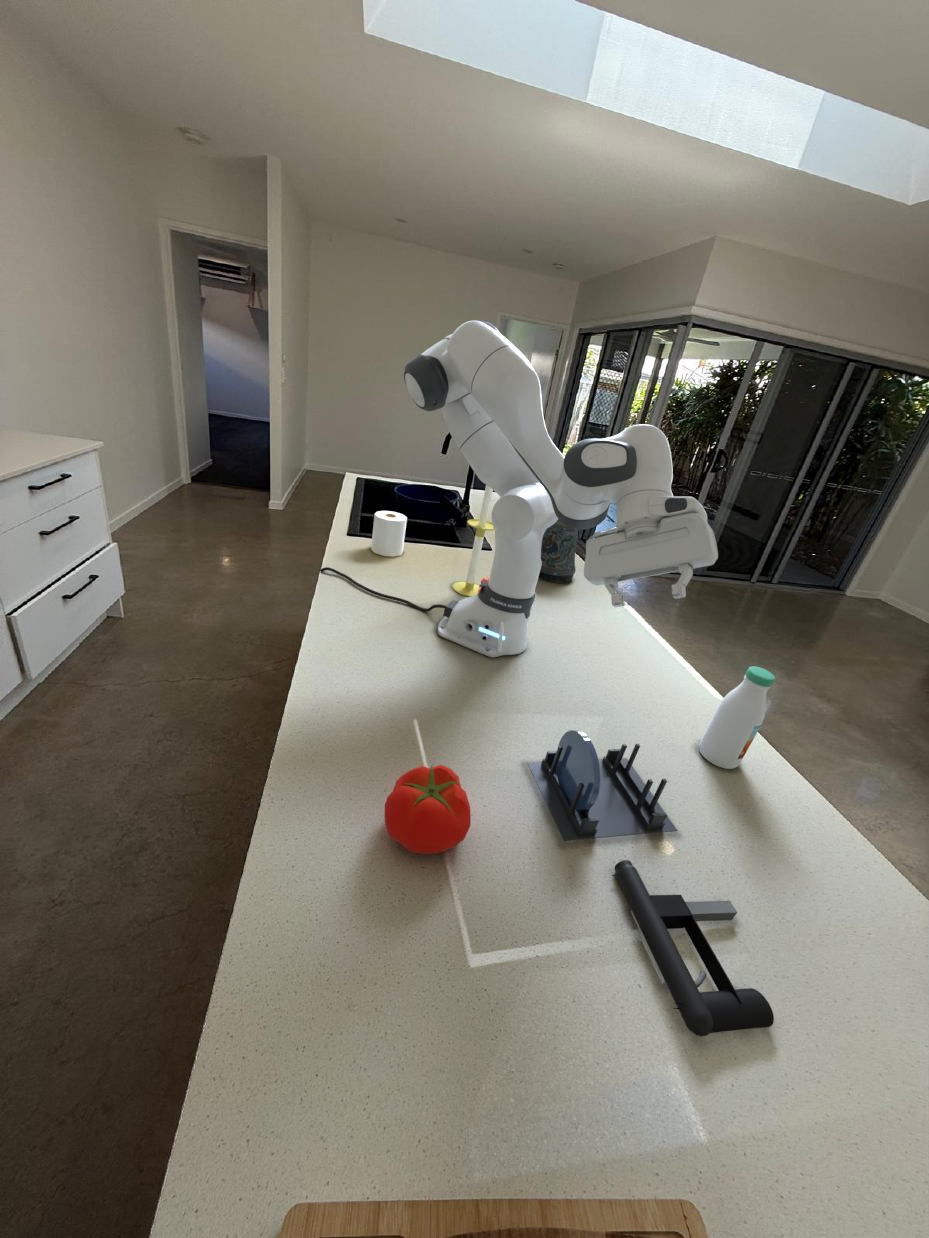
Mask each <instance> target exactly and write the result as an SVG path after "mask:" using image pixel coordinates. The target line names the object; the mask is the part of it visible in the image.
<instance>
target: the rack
mask: <svg viewBox="0 0 929 1238" xmlns="http://www.w3.org/2000/svg"><path fill="white" fill-rule="evenodd" d="M627 748H628V745H627V744H626V743H622V745H621V747H620V748H609V749H608V750H607V752H606V755H604V756H603V759H601V758H600V759H599V758H598V761H599V766H600V789H599V794H598V797H597V800H596V802H595V803H594V805H593V806H592V807H591V808H589V809H587V810H575V809H576V806H577V804H578V801H579V798H580V796H581V793H582V791H583V788H584V784H583V783H579V786H578V788H577V791H576V794H575V796H574V799H573V801H572V804H571V806H570V805H569V803H568V801H567V799H566V797H565V795H564V793H563V792H562V790H561V788H560V786H559V782H558V777H557V769H556V767H557V764H558V761H559V758H560V756H561V753H562V750H563V747H562V746H557V749H556V750H547V751H546V755H545V756H544V757H545V758H542V760H541V761H527V762H526V763H527V767H528V768H529V770H530V772H531V774H532V776H533V779H534V780H535V782H536V785H537V787H538V789H539V791H540V793H541V795H542V798H543V800H544V802H545V804H546V806H547V809H548V810H549V813H550V815H551V817H552V820H554V823H555V825H556V827H557V830H558V832H559V834H560V836H561V838H562V841H563V842H567V841H579V840H590V839H600V838H613V837H621V836H622V837H623V836H634V835H646V834H657V833H667V832H668V833H669V832H677V831H678V829H677V827H676V826H675V825H674V823H673V822H672V820H671V819H670V818H669V816H668V814H667V813H666V812H665V810H664V809H663V808H662V806H661V805H660V804H659V802H658V801H659V799H660V797H661V795H662V793H663V791H664V789H665V787H666V785H667V783H668V780H667V779H666V778H661V780H660V782H659V784H658V786H657V789H656V791H655V793H654V794H652V792H651V791H650V790H651V788H652V787H653V783H654V781H653V780H652V778H648V779H647V781H646V783H645V782H644V780H643V779H642V778H641V776H640V775H639V773H638V772H637V770H636V769H635V768H634V767H633V764H634V762H635V759H636V757H637V755H638V753H639V750H640V748H641V744H640V743H635V744H634V747H633V749H632V751H631V754H630V756H629V758H624V755H625V752H626V750H627Z"/></svg>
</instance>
